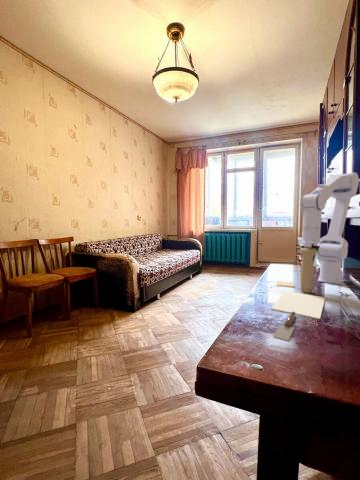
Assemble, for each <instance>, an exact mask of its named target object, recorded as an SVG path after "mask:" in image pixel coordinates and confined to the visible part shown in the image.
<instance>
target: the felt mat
mask: <svg viewBox="0 0 360 480" xmlns="http://www.w3.org/2000/svg"><path fill="white" fill-rule="evenodd" d="M325 301H326V296H325V297H324V296H319V295H313V294H308V293H300V292H293V291H288V290H285V291H284V292H283V293H282V294H281V295H280V296H279V298H278V299H277V301H276V302H274V304H273V305H272V306H271V308H270V310H273V311H276V312H277V311H278V312H283V313H288V314H291V312H295V313H296V315H295V316H297V315H298V316H302V317H307V318H311V319H316V320H321V316H322V313H323V309H324V305H325Z"/></svg>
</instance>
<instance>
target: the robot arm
mask: <svg viewBox="0 0 360 480" xmlns="http://www.w3.org/2000/svg"><path fill="white" fill-rule="evenodd" d="M359 180H360V179H359V174H358V173H357V171H356V172H355V171H354V172H353V171H352V172H350V173H349V172H348V173H342V174H330V175H329V176H328V177H327V179H326V183H325V184H323V183H322V184H319V185H317V187H316V188H315V189H314V190H312V191H311V192H310V193H309V194H305V195H303V196H302V197H301V198H300V199H301V200H300V204H299V205H300V208H301V215H302V229H301V230H302V232H301V238H300V239H298V240H297V242H299V243H303V244H304V245H300V248H315V249H317V252H316V255H317V257H318V259H320V265H319V268H320V269H319V276H318V279H317V282H319V283H321V282H322V283H328V284H334V285H342V278H341V272H342V262H343V261H344V260H345V259H346V258H347V256H348V251H349V250H348V249H349V243H348V241H347V240H346V239H344V238H343V237H342V236H343V233H344V227H345V223H346V220H347V215H348V212H349V207H350V204H351V199H352V198H353V197H355V196H356V195H357V192H358V187H359V183H360V181H359ZM330 198H333V199H335V203H334V207H333V212H332V216H331V220H330V223H329V228H328V232H327V233H326V235H324V236H322V237H321V228H322V227H321V226H322V212H323V210H324V209H325V207H326V204H327V201H328V200H329V199H330ZM316 255H314V256H313V264H314V262H315V258H316Z"/></svg>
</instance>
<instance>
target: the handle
mask: <svg viewBox="0 0 360 480" xmlns="http://www.w3.org/2000/svg"><path fill="white" fill-rule="evenodd" d="M316 252H317V249H315V248H301V247H300V248H299V253H300V255H302V258H301V259H302V260H301V267H300V268H301V269H300V291H301V292H302V293H303V294H309V293H312V288H313V283H314V282H313V281H314V263H313V256H314V255H315V256H316V255H317V254H316Z"/></svg>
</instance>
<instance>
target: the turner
mask: <svg viewBox="0 0 360 480" xmlns="http://www.w3.org/2000/svg"><path fill="white" fill-rule="evenodd" d="M296 316H297V315H296V313H295V312H291V313H289V315H288V318H287V319H286V321H285V323H284V324H280V325H279V327H278V328H277V329H276V331H275V332H274V334H273V338H274V339H278V340H282V341H287V342H289V341H290V340H291V337H292V335H293V333H294V331H295V327H293V326H292V323H293V322H294V319H295V317H296Z"/></svg>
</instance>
